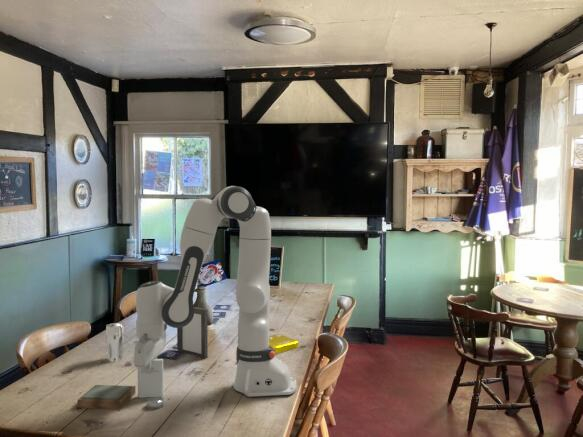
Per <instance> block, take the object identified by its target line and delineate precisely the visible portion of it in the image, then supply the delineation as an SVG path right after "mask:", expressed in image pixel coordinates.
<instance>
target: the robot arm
mask: <svg viewBox="0 0 583 437" xmlns="http://www.w3.org/2000/svg"><path fill="white" fill-rule="evenodd" d="M225 218H226V219H227V218H228V219H234V220H236V221H237V223H238V225H239V241H238V242H239V243H238V244H239V246H238V248H239V249H238V265H237V266H238V267H237V275H236V286H235V287H236V288H235V289H236V290H235V301H236V303H237V306H238V307H239V309H238V321H237V322H238V323H237V347H236V351H235V352H236V353H235V355H236V356H235V357H236V359H235V360H236V364H237V365H236V371H235V377H234V383H233V385H232V388H233V389H234V390H235V391H237V392H239V393H242V394H244V395H245V396H246V397H249V398H251V397H266V396H267V397H270V396H283V395H284V396H286V395H287V396H288V395H291V394H294V393H295V392H296V390H297V388H298V385H297V380H296V379H295V377H292V376H291V373H290V368H289V367H288V365H287V364H286V363H284V362H283V361H281V360H280V359H279V358H277V357H276V354H275V349H274V346H273V348H272V347H271V346H269V336H270V310H271V309H270V307H271V305H270V304H271V303H270V302H271V286H270V271H271V270H270V269H271V267H270V266H271V252H272V251H271V248H272V246H271V245H272V228H271V219H270V213H269V211H268V210H267V209H266V208H264V207H262V206H257V205H256V203H255V201H254V199H253V197H252V194H251V193H250V192H249V191H248V190H247V189H246V188H244V187H242V186H236V185H230V186H226V187H224V188H222V189H221V190H219V191H218V192H217V193H216V194H214V196H213V197H212V198H198V199H196V200H194V201H193V203H192V205H191V206H190V208H189V210H188V212H187V215H186V217H185V220H184V223H183V227H182V230H181V234H180V241H179V250H180V267H179V271H178V275H177V278H176V282H175V286H174V287H171V286H168V285H167V284H164V283H163V282H162V281H160V280H151V281H147V282H145V283H141V285H139V286H138V287H137V290H136V296H135V311H136V315H137V317H136V321H135V327H136V328H135V329H136V333H135V334H136V338H138V341H137V342H136V343H135V344H134V354H133V365H134V367H135V368H138V367H145V372H146V374H150V373H151V372H152V367H151V361H152V360H153V359H158V356H159V354H160V353H161V352H162V351H163V350H164V349H165V347H166V342H167V341H166V340H167V329H168V327H170V328H176V329H177V328H181V327H184V326H186V325H188V324H189V323H190V322H191V320H192V319H193V316H194V307H195V306H194V295H195V291H196V290H195V289H196V287H197V283H198V280H199V276H200V272H201V269H202V266H203V265H204V262H205V260H206V258H207V256H208V255H209V252H210V249H211V248H212V246H213V243H214V240H215V237H216V233H217V231H218V230H217V229H218V227H219V224H220V223H221V221H223V219H225Z"/></svg>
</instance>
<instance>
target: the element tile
mask: <svg viewBox="0 0 583 437" xmlns="http://www.w3.org/2000/svg"><path fill="white" fill-rule="evenodd" d="M299 343H300V342H299V340H298V339H295V338H292V337H289V336H286V335H284V334H280V333H277V334H273V335H269V346H271V347H272V348H273V346H274V349H275V355H278V354H282V353H284V352H288V351H292V350H295V349H298V348H299Z"/></svg>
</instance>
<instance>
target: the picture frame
mask: <svg viewBox="0 0 583 437" xmlns="http://www.w3.org/2000/svg"><path fill="white" fill-rule="evenodd" d="M176 330H177V331H176V333H177V334H176V335H177V337H176V338H177V341H176V343H177V344H176V345H177V350H176V351H177V352H182V353H184V354H187V355H191V356H195V357H197V358H201V359H204V360H206V359H208V356H209V355H208V351H209V350H208V347H209V346H208V309H207V308H202V307H196V306H194V316H193V319H192V320H191V322H190V323H189V324H188V325H186V326H184V327H181V328H176Z"/></svg>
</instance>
